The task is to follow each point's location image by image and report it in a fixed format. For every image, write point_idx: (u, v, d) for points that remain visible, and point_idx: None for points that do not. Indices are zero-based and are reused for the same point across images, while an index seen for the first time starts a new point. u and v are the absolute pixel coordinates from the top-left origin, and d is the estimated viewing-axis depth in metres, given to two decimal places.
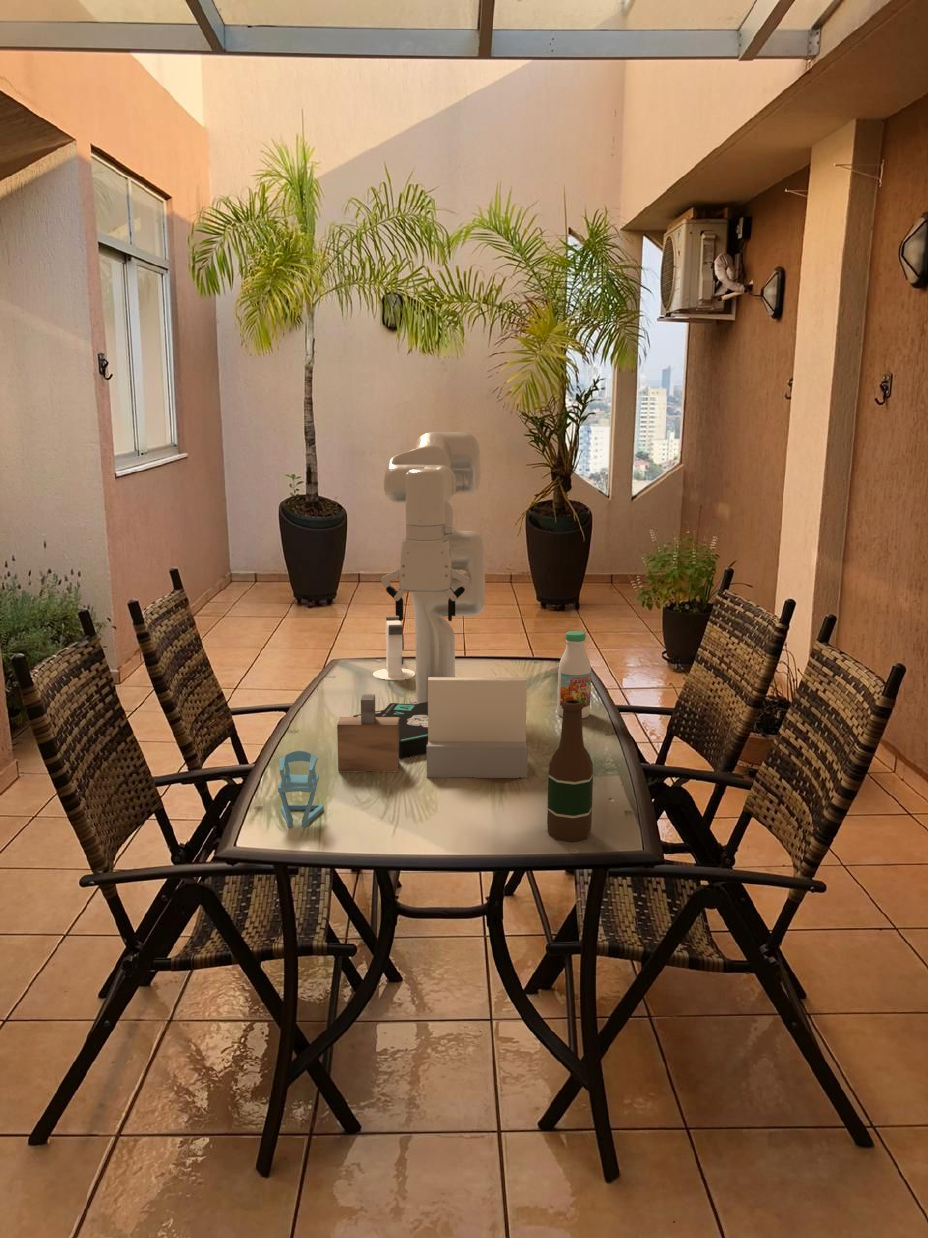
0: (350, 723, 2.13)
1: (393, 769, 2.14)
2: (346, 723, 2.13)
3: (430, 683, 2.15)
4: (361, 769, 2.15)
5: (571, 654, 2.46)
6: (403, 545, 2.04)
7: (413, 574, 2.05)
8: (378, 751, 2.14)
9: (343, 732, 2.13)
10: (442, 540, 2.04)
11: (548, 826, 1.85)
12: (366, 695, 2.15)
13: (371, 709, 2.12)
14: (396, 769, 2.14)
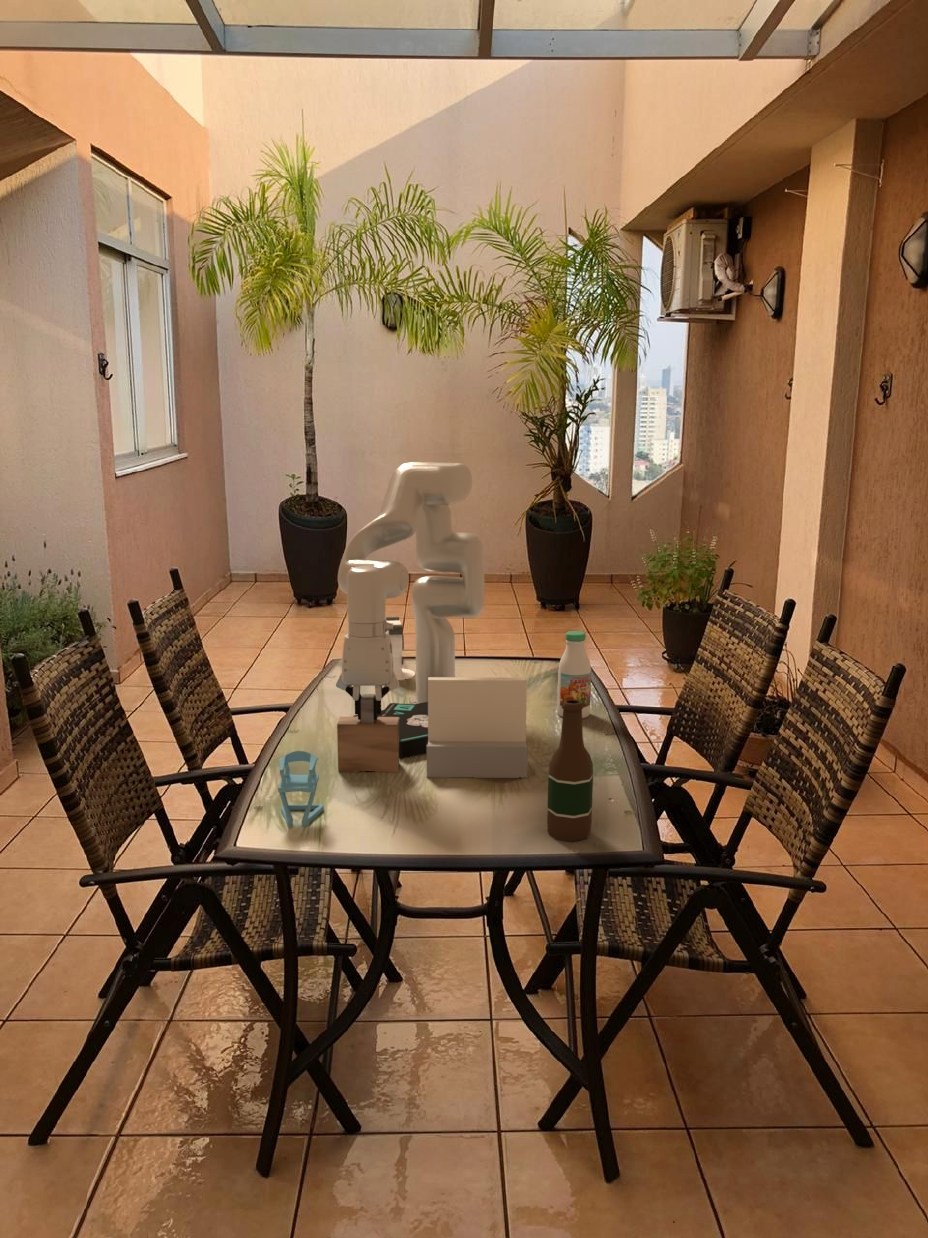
0: (350, 723, 2.13)
1: (393, 769, 2.14)
2: (346, 723, 2.13)
3: (430, 683, 2.15)
4: (361, 769, 2.14)
5: (571, 654, 2.46)
6: (345, 641, 2.10)
7: (355, 669, 2.10)
8: (378, 750, 2.14)
9: (343, 731, 2.13)
10: (383, 636, 2.09)
11: (548, 826, 1.85)
12: (366, 695, 2.15)
13: (371, 708, 2.12)
14: (396, 769, 2.14)
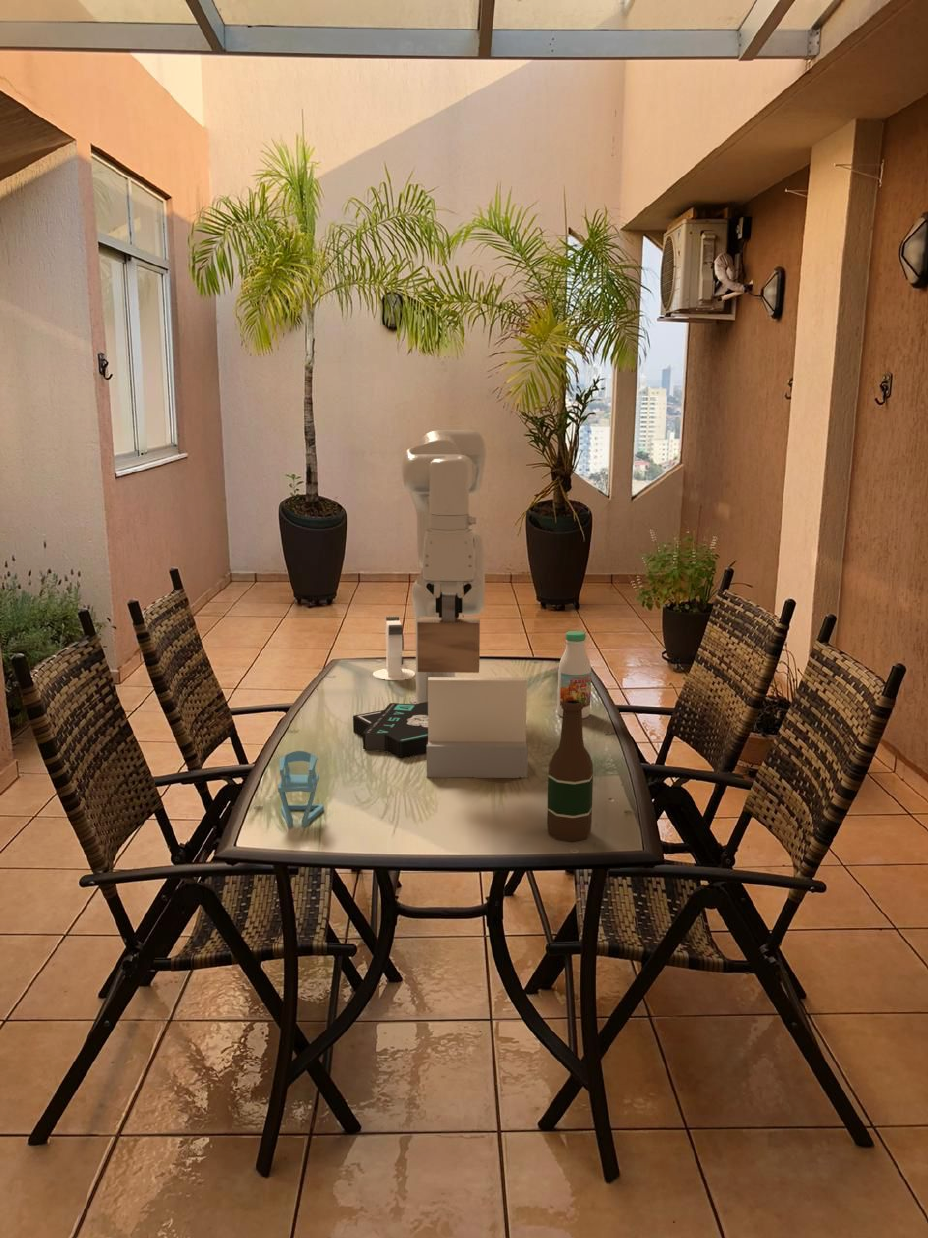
0: (430, 621, 2.07)
1: (474, 669, 2.08)
2: (426, 621, 2.07)
3: (430, 683, 2.15)
4: (441, 669, 2.08)
5: (571, 654, 2.46)
6: (427, 535, 2.03)
7: (437, 564, 2.04)
8: (459, 650, 2.07)
9: (424, 630, 2.06)
10: (466, 530, 2.03)
11: (548, 826, 1.85)
12: (446, 593, 2.08)
13: (453, 606, 2.06)
14: (477, 669, 2.08)
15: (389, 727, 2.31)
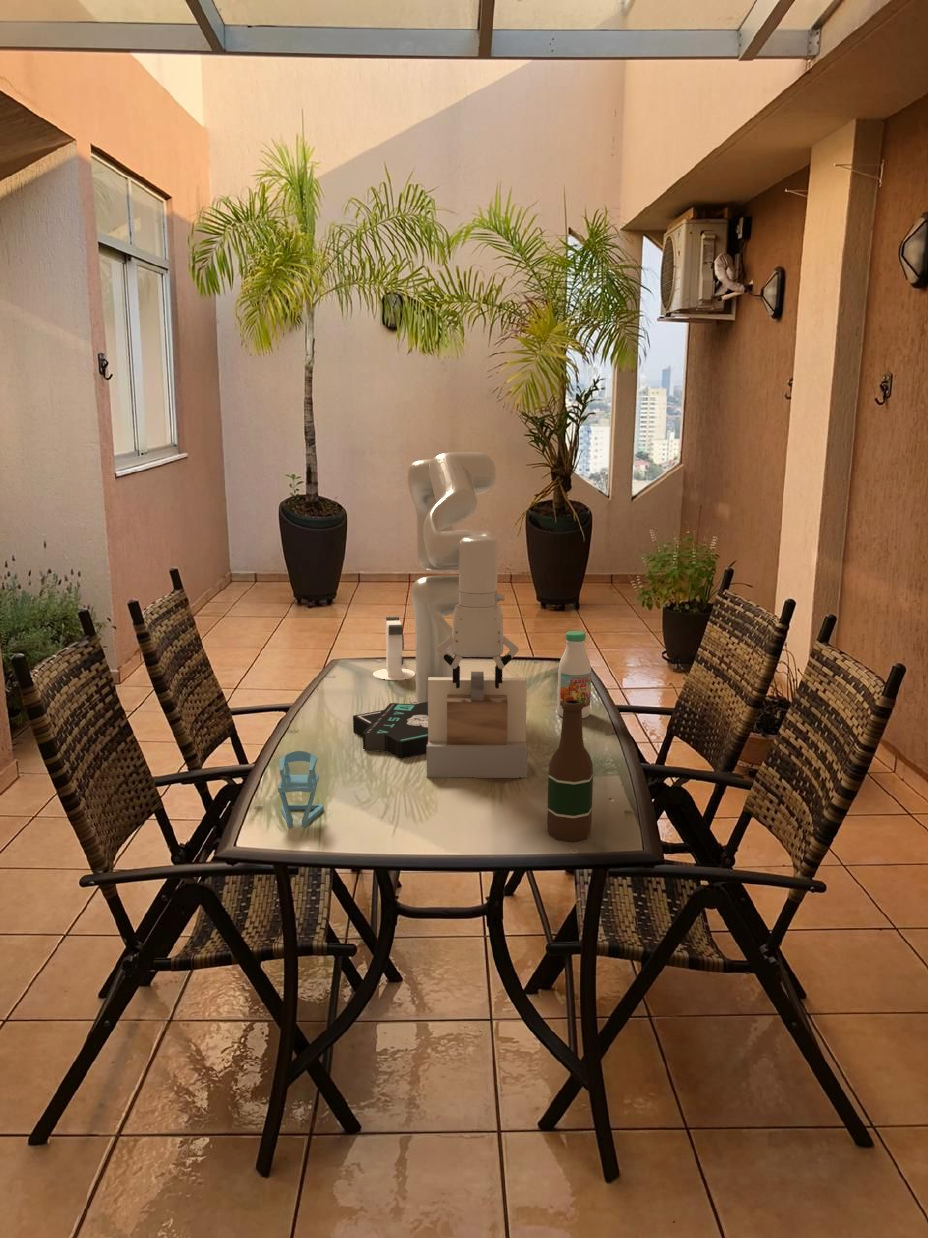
0: (460, 700, 2.11)
1: None
2: (456, 700, 2.11)
3: (430, 683, 2.15)
4: None
5: (571, 654, 2.46)
6: (456, 611, 2.07)
7: (466, 640, 2.08)
8: (487, 728, 2.12)
9: (453, 709, 2.11)
10: (495, 607, 2.07)
11: (548, 826, 1.85)
12: (474, 672, 2.13)
13: (482, 686, 2.10)
14: None
15: (389, 727, 2.31)
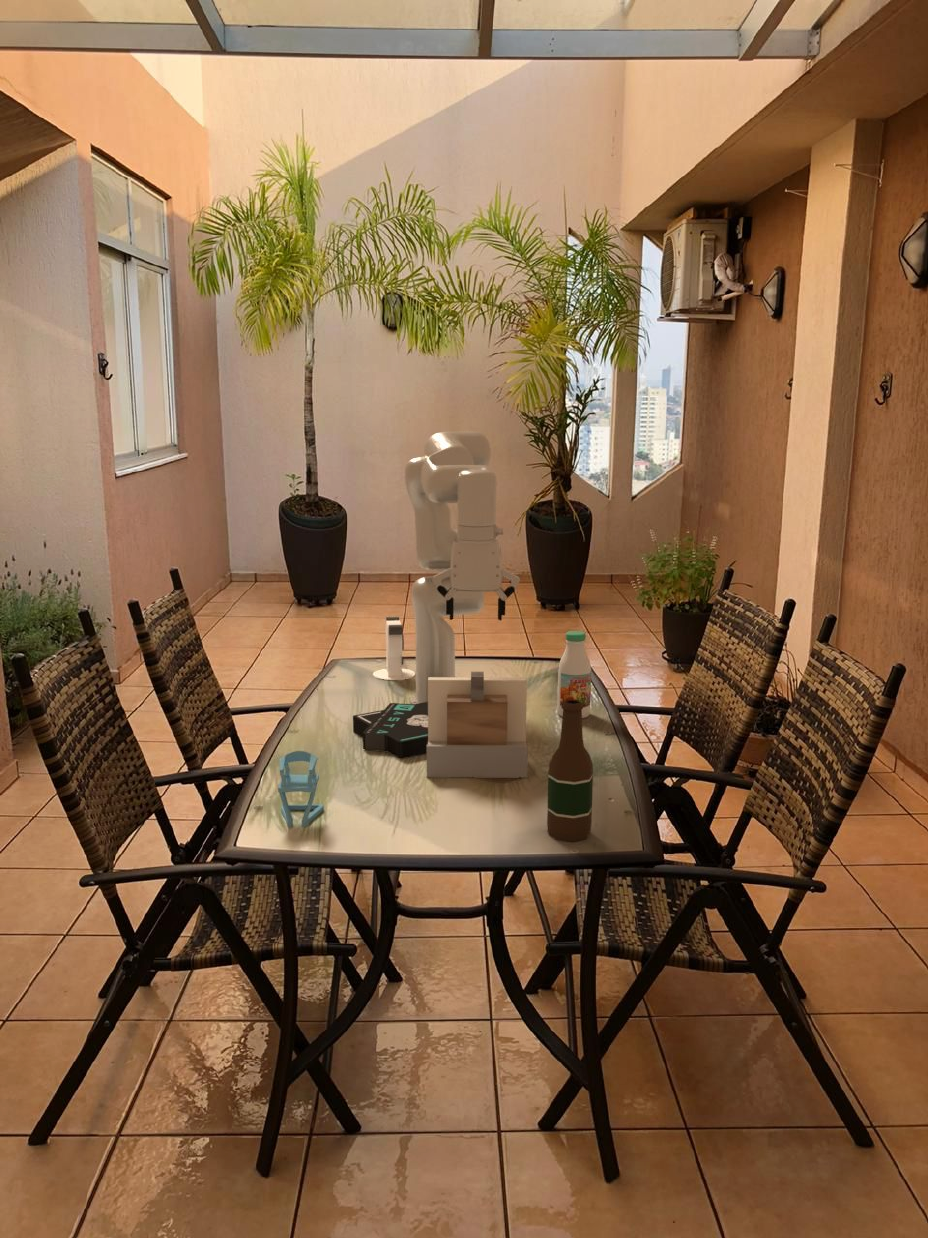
0: (460, 700, 2.11)
1: None
2: (456, 700, 2.11)
3: (430, 683, 2.15)
4: None
5: (571, 654, 2.46)
6: (455, 545, 2.07)
7: (464, 574, 2.07)
8: (487, 728, 2.12)
9: (453, 709, 2.11)
10: (493, 540, 2.07)
11: (548, 826, 1.85)
12: (474, 672, 2.13)
13: (482, 686, 2.10)
14: None
15: (389, 727, 2.31)
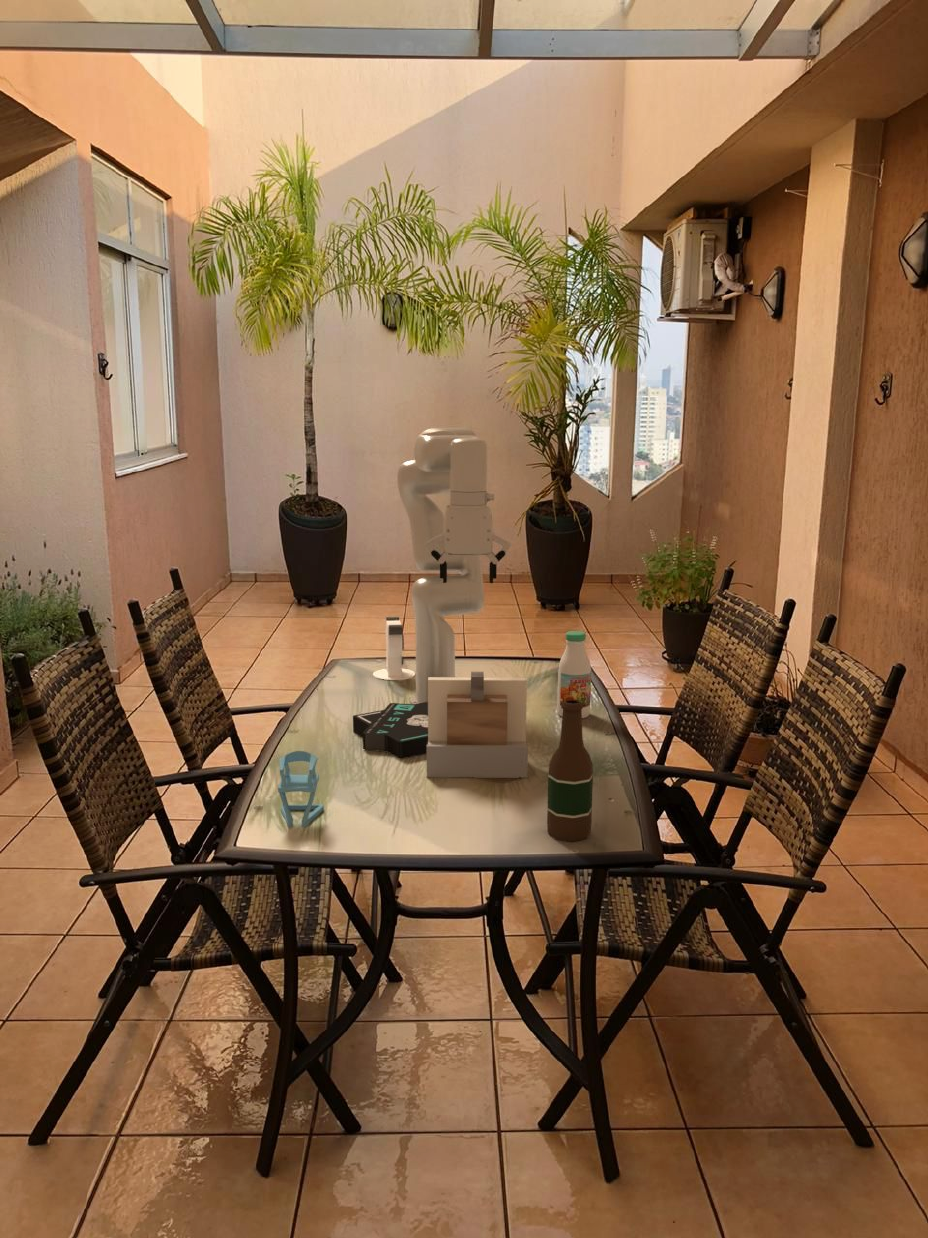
0: (460, 700, 2.11)
1: None
2: (456, 700, 2.11)
3: (430, 683, 2.15)
4: None
5: (571, 654, 2.46)
6: (448, 511, 2.16)
7: (457, 538, 2.16)
8: (487, 728, 2.12)
9: (453, 709, 2.11)
10: (485, 506, 2.16)
11: (548, 826, 1.85)
12: (474, 672, 2.13)
13: (482, 686, 2.10)
14: None
15: (389, 727, 2.31)
